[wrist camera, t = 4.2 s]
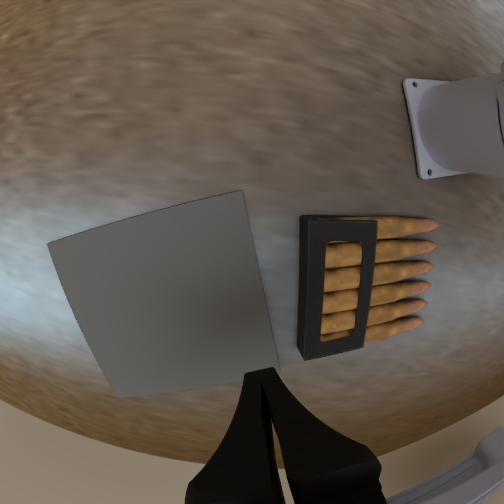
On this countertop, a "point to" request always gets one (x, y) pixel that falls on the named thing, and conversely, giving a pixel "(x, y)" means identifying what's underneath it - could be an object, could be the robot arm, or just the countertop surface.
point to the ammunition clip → (357, 280)
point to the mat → (170, 297)
